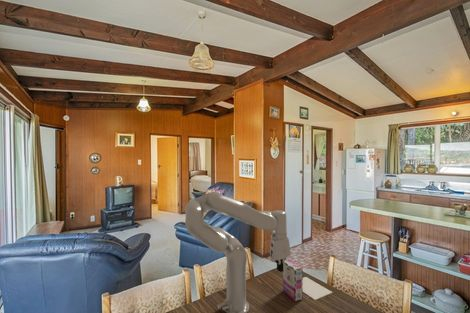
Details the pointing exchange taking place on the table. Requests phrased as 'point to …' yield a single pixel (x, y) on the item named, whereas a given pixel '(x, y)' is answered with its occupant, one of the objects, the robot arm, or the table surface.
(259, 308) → the table surface
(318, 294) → the white mat
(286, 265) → the candy bar box
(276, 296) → the table surface
